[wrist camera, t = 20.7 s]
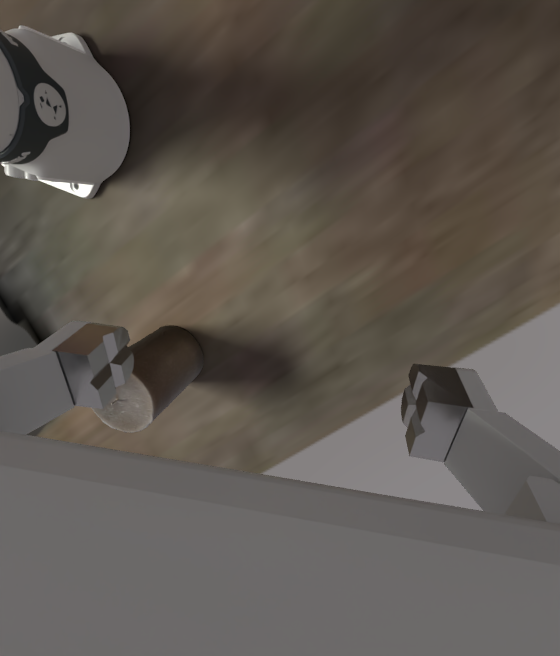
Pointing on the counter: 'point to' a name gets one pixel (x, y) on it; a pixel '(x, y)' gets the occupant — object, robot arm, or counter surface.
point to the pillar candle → (153, 378)
